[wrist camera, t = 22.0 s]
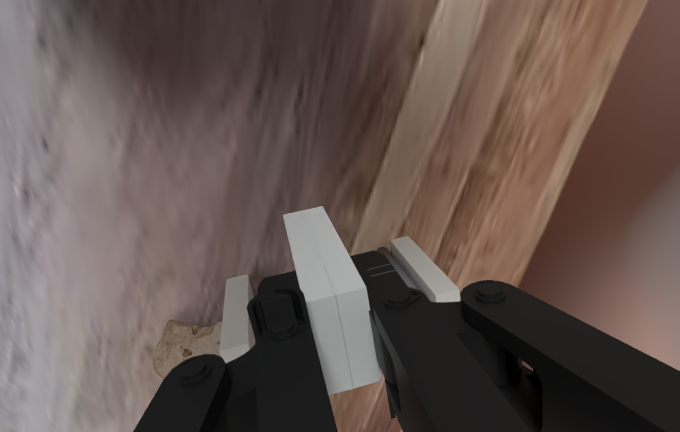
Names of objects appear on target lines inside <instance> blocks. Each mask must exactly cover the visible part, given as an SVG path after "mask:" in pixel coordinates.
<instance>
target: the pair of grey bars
mask: <svg viewBox="0 0 680 432" xmlns="http://www.w3.org/2000/svg"><path fill="white" fill-rule="evenodd" d="M390 244H391V251H392V256H393V258H394V259H395V260H396V261H397V263H398V264H399V265H400V267H401V268H402V269H403V271H404V272H405V273H406V274H407V276H408V277H409V278H410V280H411V281H412V282H413V284H414V285H415V286H416V287H417V289H418V290H420V291H421V292H423V293H424V294H425V295H426V296H427V297H428V299H429V300H430V301H431V302H458V301H460V294H459V289H458V287H457V286H456V285H455V284H454V283H453V282H452V281H451V280H450V279H449V278H448V277H447V276H446V275H445V274H444V273H443V272H442V271H441V270H440V269H439V268H438V267H437V266H436V264H435V263H434V262H433V261H432V260H431V259H430V258H429V257H428V256H427V255H426V254H425V253H424V252H423V251H422V250H421V249H420V248H419V247H418V246H417V245H416V244H415V243H414V241H413V240H412V239H411V238H410V237H409V236H405V237H400V238H396V239H392V240H390ZM253 297H254V294H253V290H252V286H251V283H250V279H249V275H248V274H245V275H241V276H237V277H232V278H228V279H226V289H225V299H224V309H223V319H222V328H221V338H220V348H219V352H220V355H221V357H222V358H223V360H224V361H225V363H228V362H230V361H232V360H234V359H236V358H238V357H240V356H242V355H243V354H245V353H246V352H247V351H249V350H250V349H251V348H252V347H253V346H254V345H255V337H254V333H253V329H252V326H251V322H250V319H249V315H248V311H247V306H248V303H249V301H250V300H251V299H252V298H253Z"/></svg>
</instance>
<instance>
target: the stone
mask: <svg viewBox="0 0 680 432" xmlns="http://www.w3.org/2000/svg"><path fill="white" fill-rule="evenodd" d="M221 328H222V321H219V322H217V323H216V324H215V325H214V326H207V327H202V326H198V325H192V324H191V325H190V324H186V323H184V322H178V321H174V320H169V321H168V322H167V326H166V327H165V329H164V333H163V337H162V339H161V340H160V342H159V343H158V345H157V347H156V351H155V353H154V357H153V365H154V368H155V370H156V373H157V374H158V375H160V376H161V377H163V378H165V377H166V376H167V375H168V373H169V372H170V371H171V370H172V369H173V368H174V367H176V366H177V365H178V364H180V363H181V362H183V361H185V360H187V359H189V358H191V357H194V356H198V355H203V354H216V355H218V356H220V357H221V355H220V352H219V348H220V338H221Z"/></svg>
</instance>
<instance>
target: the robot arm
mask: <svg viewBox="0 0 680 432" xmlns="http://www.w3.org/2000/svg"><path fill="white" fill-rule="evenodd" d="M283 218H284V223H285V227H286V232H287V236H288V240H289V245H290V249H291V254H292V258H293V262H294V267H295V271H292V272H288V273H284V274H280V275H275V276H271V277H267V278H264V279H263V280H262V282H261V283H260V285H259V286H258V295H256V296H254V297H253V298H252V299H251V300H250V301H249V303H248V306H247V311H248V315H249V319H250V322H251V326H252V329H253V333H254V337H255V345H254V346H253V347H252V348H251V349H250V350H249V351H247V352H246V353H245V354H243V355H242V356H240V357H238V358H236V359H234V360H232V361H230V362H228V363H225V361H224V360H223V358H222V357H220V356H218V355H216V354H203V355H198V356H194V357H191V358H189V359H187V360H185V361H183V362H181V363H180V364H178V365H177V366H176V367H174V368H173V369H172V370H171V371H170V372H169V373H168V375H167V376H166V377H165V379H164V380H163V382H162V384H161V385H160V387H159V389H158V391H157V392H156V394H155V396H154V397H153V399H152V401H151V402H150V404H149V406H148V408H147V409H146V411H145V413H144V414H143V416H142V418H141V419H140V421H139V423H138V425H137V426H136V428H135V430H134V431H133V432H338V431H337V427H336V423H335V419H334V415H333V411H332V407H331V403H330V399H329V395H332V394H336V393H339V392H343V391H347V390H350V389H354V388H357V387H361V386H364V385H368V384H372V383H375V382H379V381H382V378H381V372H380V368H381V370H382V373H383V375H384V377H385V383H386V389H387V395H388V402H389V408H390V414H391V419H393V418H396V416H397V419H398V421H399V423H400V426H401V428H402V430H403V432H680V371H678V370H676V369H674V368H672V367H670V366H669V365H667V364H665V363H663V362H661V361H659V360H657V359H655V358H653V357H651V356H649V355H647V354H645V353H643V352H641V351H639V350H637V349H635V348H633V347H631V346H629V345H628V344H625V343H624V342H622V341H620V340H618V339H616V338H614V337H612V336H610V335H608V334H606V333H604V332H602V331H600V330H598V329H596V328H594V327H592V326H590V325H588V324H587V323H585V322H583V321H581V320H579V319H577V318H575V317H573V316H571V315H569V314H567V313H565V312H563V311H561V310H559V309H557V308H555V307H553V306H551V305H549V304H547V303H546V302H544V301H541V300H540V299H538V298H536V297H534V296H532V295H530V294H528V293H526V292H524V291H522V290H520V289H518V288H516V287H514V286H512V285H510V284H507V283H504V282H500V281H493V280H486V281H485V280H483V281H479V282H475V283H472V284H469V285H468V286H466V287H465V288H463V290H462V292H461V293H460V294H461V301H458V302H431V301H430V300H429V299H428V297H427V296H426V295H425V294H424V293H423V292H421V291H420V290H418V289H414V288H411V287H408V286H407V285H406V283H405V282H404V281H403V279H402V278H401V277H400V275H399V274H398V272H397V271H395V268H394V267H393V266H392V264H391V263H390V261H389V260H388V259H387V257H386V256H385V255H383V254H381V253H378V252H376V251H370V252H366V253H362V254H358V255H353V256H349V254H348V252H347V250H346V249H345V247H344V245H343V243H342V241H341V239H340V238H339V236H338V234H337V232H336V230H335V228H334V226H333V225H332V223H331V221H330V219H329V217H328V215H327V214H326V212H325V210H324V208H323V206H320V207H316V208H311V209H307V210H302V211H298V212H293V213H289V214H284V215H283ZM522 360H523V361H524V362H526V363H527V364H528V365H529V366H530V367H532V368H533V371H532V370H530V369H528V368H527V367H525V366H524V365H522ZM395 414H396V416H395Z"/></svg>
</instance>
